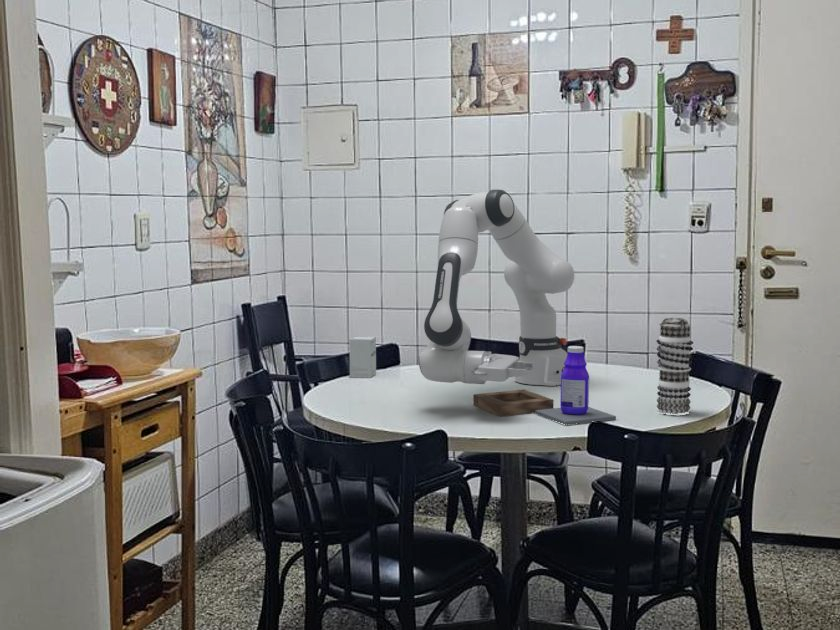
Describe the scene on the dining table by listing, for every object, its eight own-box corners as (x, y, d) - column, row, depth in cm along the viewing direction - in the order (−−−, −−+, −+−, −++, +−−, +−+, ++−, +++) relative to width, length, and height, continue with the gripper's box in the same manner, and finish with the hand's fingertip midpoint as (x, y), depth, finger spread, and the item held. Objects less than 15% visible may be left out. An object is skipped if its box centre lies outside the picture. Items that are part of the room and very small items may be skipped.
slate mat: (583, 408, 255) (583, 405, 255) (615, 419, 241) (615, 416, 241) (535, 414, 249) (535, 410, 249) (565, 425, 236) (565, 421, 236)
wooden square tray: (524, 399, 268) (524, 389, 268) (553, 410, 253) (553, 399, 253) (473, 404, 262) (473, 394, 261) (500, 416, 247) (500, 405, 247)
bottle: (590, 411, 247) (590, 345, 245) (586, 416, 242) (587, 348, 240) (562, 410, 249) (563, 344, 247) (558, 414, 244) (559, 347, 242)
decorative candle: (685, 418, 243) (688, 321, 240) (650, 414, 248) (652, 319, 245) (696, 411, 251) (698, 317, 248) (661, 407, 255) (663, 316, 253)
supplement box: (371, 378, 305) (370, 339, 303) (349, 377, 306) (348, 339, 305) (376, 374, 312) (376, 336, 311) (355, 373, 313) (354, 336, 312)
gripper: (469, 361, 241) (522, 363, 237) (486, 350, 261) (536, 352, 257) (469, 386, 242) (522, 388, 238) (486, 372, 261) (536, 374, 257)
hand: (529, 369), depth 247 cm, fingers open, 8 cm apart
